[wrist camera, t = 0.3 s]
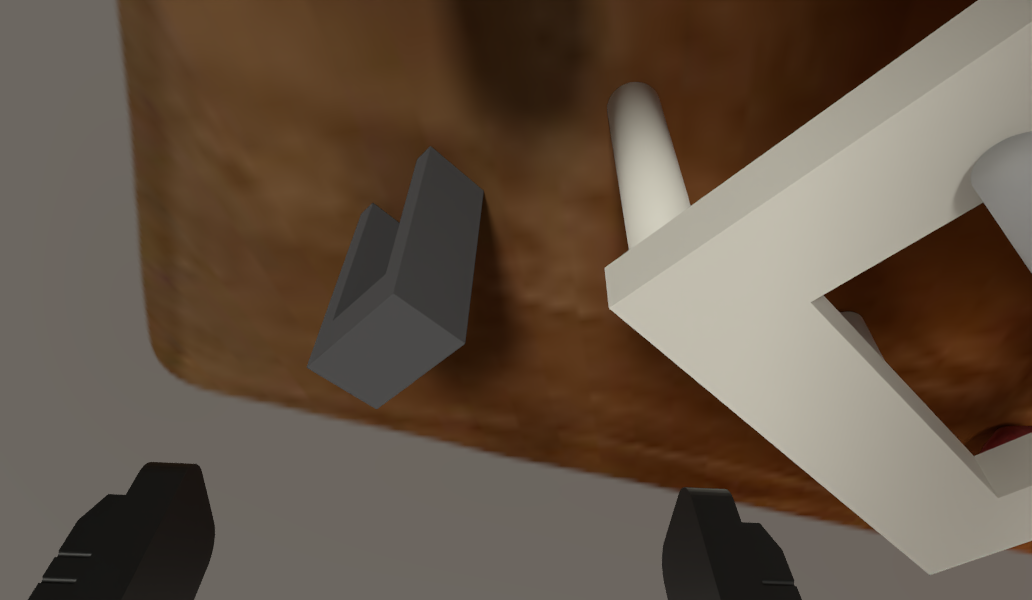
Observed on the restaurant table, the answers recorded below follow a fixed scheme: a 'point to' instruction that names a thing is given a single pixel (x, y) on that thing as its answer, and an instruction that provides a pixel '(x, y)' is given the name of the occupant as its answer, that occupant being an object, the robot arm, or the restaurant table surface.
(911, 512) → the square frame stand
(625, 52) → the restaurant table surface
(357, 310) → the grey u-shaped bracket
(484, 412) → the restaurant table surface
